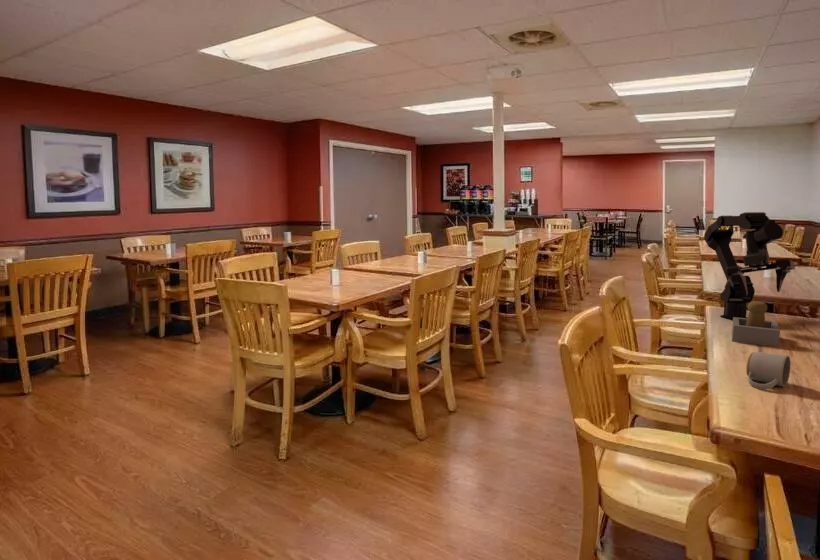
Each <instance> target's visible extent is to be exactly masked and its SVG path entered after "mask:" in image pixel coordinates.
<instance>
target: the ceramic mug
mask: <svg viewBox="0 0 820 560" xmlns="http://www.w3.org/2000/svg"><path fill="white" fill-rule="evenodd" d="M791 363H792V362H791V358H790V355H786V354H779V353H768V352H761V351H753V352H751V353H750V354H749V356H748V357H747V360H746V368H745V371H746V375H747V377H748V378H747V379H748V380H747V381H748V384H749V385H750V386H752V387H753V386H754V388H755V387H757V388H756V389H758V388H761V389H760V390H768V389H769V390H770V389H772V388H774V387H775V386H778V387H781V386H782V387H783V388H785V385H786V386H787V384H788V381H789V378H790V374H791ZM753 380H754V381H753ZM755 381H757V382H755ZM758 382H762V383H758Z"/></svg>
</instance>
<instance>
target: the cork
mask: <svg viewBox="0 0 820 560" xmlns="http://www.w3.org/2000/svg"><path fill="white" fill-rule="evenodd" d="M747 310H748V314H747V317H748V318H747V322H746V326H752V327H761V328H765V320H766V316H765V315H766V312H767V310H768V305H767V303H765V302H763V301H759V300H754V301H753V300H752V302H750V303H748V304H747Z"/></svg>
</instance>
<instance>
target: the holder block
mask: <svg viewBox="0 0 820 560" xmlns="http://www.w3.org/2000/svg"><path fill="white" fill-rule="evenodd" d="M746 322H747V318H737V317H733V320H732V328H731V341H732V342H737V343H743V344H744V343H746V344H752V345H753V344H754V345H761V344H762V345H761V346H769V345H771V346H770V347H777V346H778V347H779V341H780V333H781V330H780V327H779V324H778V321H775V320H774V321H773V320H766V319H765V328H761V327H752V326H746Z"/></svg>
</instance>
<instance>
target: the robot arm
mask: <svg viewBox="0 0 820 560" xmlns="http://www.w3.org/2000/svg"><path fill="white" fill-rule="evenodd" d="M721 227H728V228H727V229H726V228H721ZM733 227H739V228H740V229H743V230H746V232H745V234H743V236H742V238H743V239H745V242H746V243H745V244H746V252H745V253H746V255H744V256H743V257H742V259H743V265H744V266H743V267H742V266H740V265H738V263H737V261H736V258H735V255H734V254H733V251H732V249H731V246H730V243H731V242H732V237H733V235H734V234H735V231H734V229H733ZM783 234H784V229H783V228H782V227H781V225H779V224H777V223H776V219H770V218H769V217H768V216H767V213H766V212H764V211H761V212H760V211H759V212H757V211H754V212H753V211H750V212H749V211H748V212H746V211H745V212H742V213H740V214H739V215H720V216H718V217H717V219H716V220H715V221H714V222H713V223H711V224H710V225H709V226H708V227H707V228H706V231H705V232H704V234H703V238H704V241H705V242H706V245H707V247H708V248H710V249H711V250H713V251H714V252H715V254H716V256H717V258H718V261H719V264H720V266H721V270H722V271H723V275H724V276H725V278H726V282H725V285H724V289H723V291H722V292H720V301H722V302H724V304H723V305H724V307H723V314H722V315H721V314H720V315H719V317H721V318H725V319H729V320H732V321H733V317H737V318H748V316H747V312H748V311H747V310H748V306H747V305H748V304H749V303H750V302H752V301H753V298H754V296H755V292H756V291H755V287H754V283H753V282H752V279H751V277H750V275H744V274H745V273H747V274H748V273H755V272H761V271H762V272H763V271H767V270H768V271H769V270H775V276H776V291H777V293H780V291H781V289H782V285H783V283H784V281H785V278H786V276H787V274H789V273H791V271H792V270H795V269H796V267H795V262H794V261H793V260H791V259H790V258H782V259H776V260H775V262H774V263H770V254H769V251H768V244H770V243H772V242H775V241H777V240H779V239H781V238H782V237H783ZM747 303H748V304H747Z"/></svg>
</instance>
